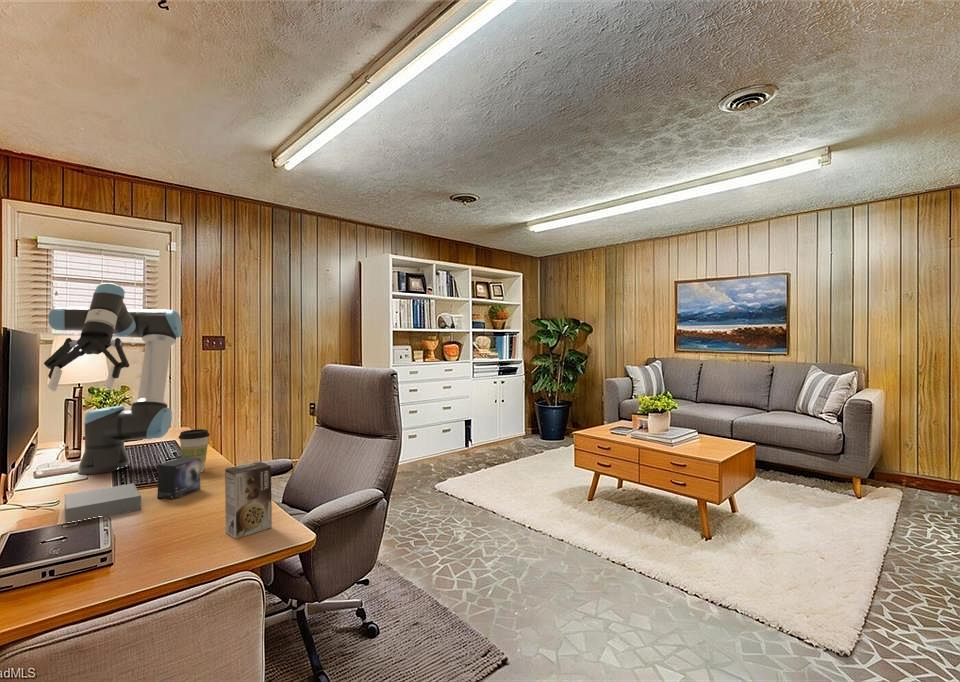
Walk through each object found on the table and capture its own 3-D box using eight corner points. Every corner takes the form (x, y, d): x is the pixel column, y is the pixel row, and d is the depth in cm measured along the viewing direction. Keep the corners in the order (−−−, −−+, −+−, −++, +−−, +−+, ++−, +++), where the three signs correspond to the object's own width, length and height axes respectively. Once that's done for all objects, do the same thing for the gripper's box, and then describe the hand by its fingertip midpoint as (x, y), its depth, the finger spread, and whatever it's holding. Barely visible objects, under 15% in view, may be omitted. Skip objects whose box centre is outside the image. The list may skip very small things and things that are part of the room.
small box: (174, 500, 141) (174, 465, 141) (156, 498, 143) (156, 464, 143) (201, 489, 152) (201, 457, 152) (184, 488, 153) (184, 456, 153)
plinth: (64, 508, 134) (64, 494, 134) (133, 496, 145) (133, 483, 145) (65, 524, 122) (66, 509, 122) (140, 509, 133) (140, 495, 133)
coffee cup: (184, 477, 165) (184, 435, 166) (173, 472, 171) (173, 431, 172) (214, 471, 173) (214, 430, 173) (202, 467, 179) (202, 428, 179)
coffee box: (260, 522, 124) (260, 461, 124) (272, 528, 119) (272, 464, 120) (224, 532, 116) (224, 468, 117) (235, 539, 112) (235, 472, 112)
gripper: (44, 319, 139) (19, 383, 128) (142, 320, 146) (126, 380, 135) (56, 333, 145) (34, 395, 134) (149, 333, 152) (135, 392, 141)
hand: (80, 388), depth 134 cm, fingers open, 13 cm apart
